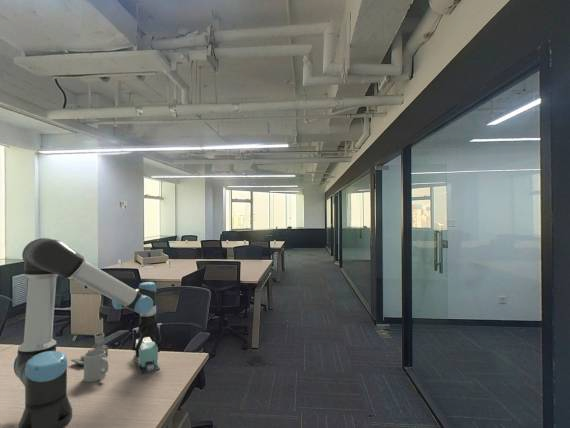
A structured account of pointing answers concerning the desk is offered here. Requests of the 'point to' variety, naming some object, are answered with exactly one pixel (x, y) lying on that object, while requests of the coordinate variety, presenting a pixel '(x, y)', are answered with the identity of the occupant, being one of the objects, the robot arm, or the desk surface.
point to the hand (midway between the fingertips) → (148, 361)
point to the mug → (95, 365)
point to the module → (148, 353)
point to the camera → (98, 345)
